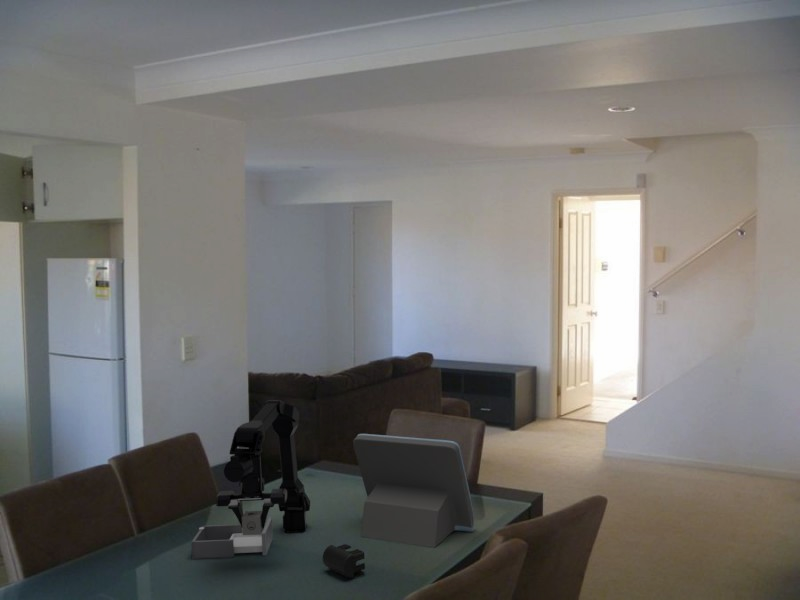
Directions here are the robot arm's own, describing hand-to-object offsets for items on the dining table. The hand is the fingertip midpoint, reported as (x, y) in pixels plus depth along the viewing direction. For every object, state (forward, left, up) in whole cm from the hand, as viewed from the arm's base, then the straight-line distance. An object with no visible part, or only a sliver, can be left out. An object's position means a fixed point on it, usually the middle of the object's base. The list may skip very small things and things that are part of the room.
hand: (253, 527), depth 220 cm
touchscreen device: (-44, -22, -11) cm, 50 cm away
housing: (+13, -14, -11) cm, 22 cm away
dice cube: (0, 0, -1) cm, 1 cm away
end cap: (-25, +8, -11) cm, 28 cm away
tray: (+4, -14, -10) cm, 18 cm away
